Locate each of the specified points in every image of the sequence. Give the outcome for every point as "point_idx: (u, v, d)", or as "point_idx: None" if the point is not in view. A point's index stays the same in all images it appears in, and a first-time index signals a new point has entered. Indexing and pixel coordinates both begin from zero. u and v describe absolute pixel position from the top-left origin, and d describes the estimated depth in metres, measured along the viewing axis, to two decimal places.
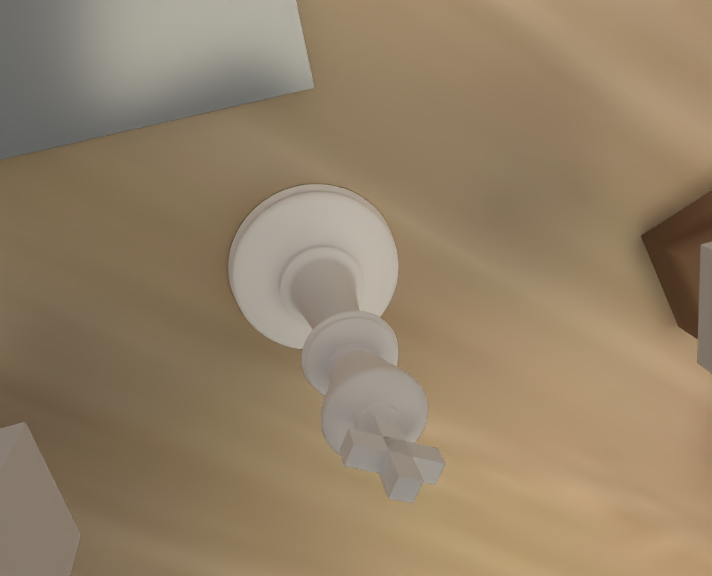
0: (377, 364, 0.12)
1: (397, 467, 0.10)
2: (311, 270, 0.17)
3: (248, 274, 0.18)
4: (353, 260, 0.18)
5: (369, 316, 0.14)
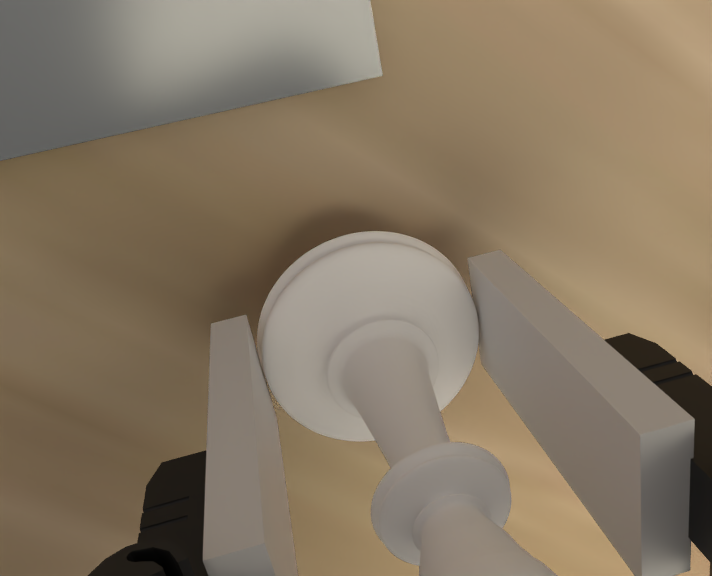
0: (509, 564, 0.07)
1: None
2: (372, 353, 0.13)
3: (284, 351, 0.14)
4: (425, 336, 0.13)
5: (473, 451, 0.09)
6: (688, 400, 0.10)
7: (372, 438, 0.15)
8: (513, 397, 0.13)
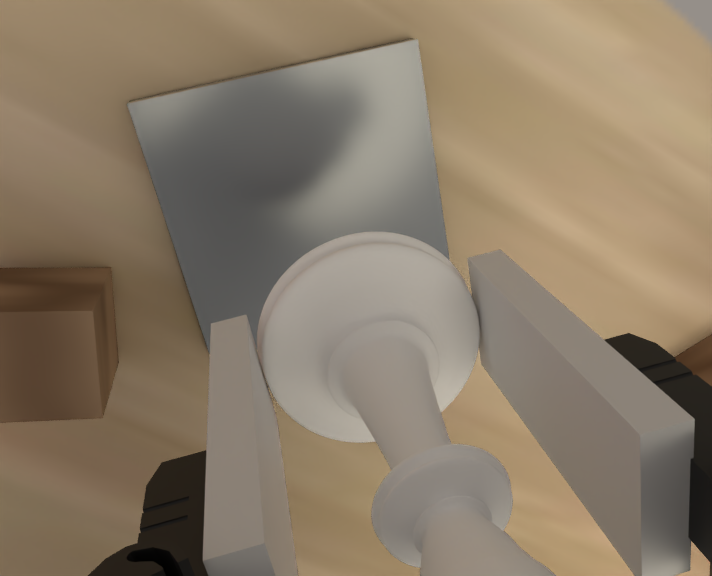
0: (510, 567, 0.07)
1: None
2: (372, 354, 0.12)
3: (284, 352, 0.14)
4: (426, 337, 0.13)
5: (474, 453, 0.09)
6: (688, 400, 0.10)
7: (372, 439, 0.15)
8: (513, 397, 0.13)
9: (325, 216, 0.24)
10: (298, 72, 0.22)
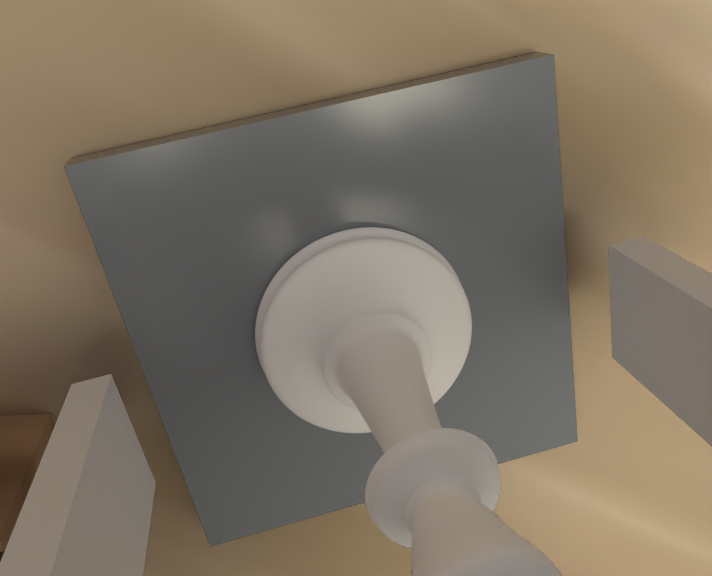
0: (496, 541, 0.08)
1: None
2: (367, 345, 0.13)
3: (282, 344, 0.14)
4: (419, 329, 0.14)
5: (463, 437, 0.10)
6: None
7: (368, 430, 0.15)
8: (666, 392, 0.13)
9: None
10: (355, 110, 0.13)
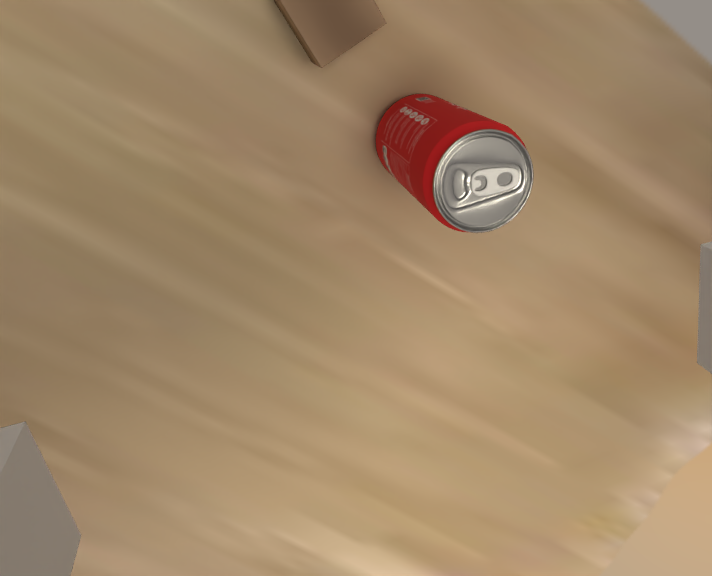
0: None
1: None
2: None
3: None
4: None
5: None
6: None
7: None
8: None
9: None
10: None
